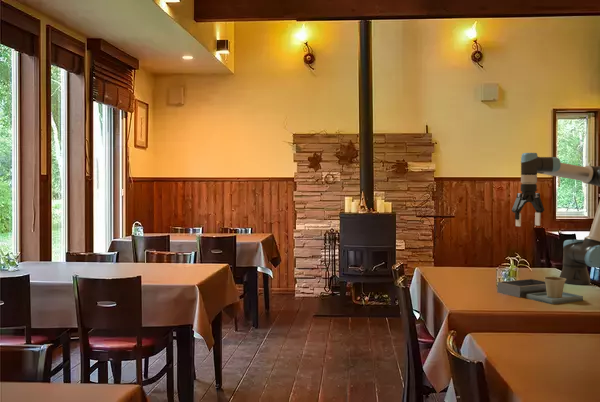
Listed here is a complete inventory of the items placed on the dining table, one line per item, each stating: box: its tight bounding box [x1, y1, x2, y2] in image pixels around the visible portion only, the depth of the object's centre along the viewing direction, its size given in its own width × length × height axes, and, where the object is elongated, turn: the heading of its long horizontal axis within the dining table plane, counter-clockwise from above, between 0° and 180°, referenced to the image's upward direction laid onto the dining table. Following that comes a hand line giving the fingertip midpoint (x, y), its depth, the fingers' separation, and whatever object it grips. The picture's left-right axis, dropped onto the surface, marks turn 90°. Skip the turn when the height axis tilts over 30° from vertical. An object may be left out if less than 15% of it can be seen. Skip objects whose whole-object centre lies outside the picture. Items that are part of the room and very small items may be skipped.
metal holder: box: [496, 278, 547, 298], centre depth 275 cm, size 23×14×5 cm, turn 116°
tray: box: [526, 291, 584, 305], centre depth 261 cm, size 20×14×2 cm
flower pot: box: [543, 276, 566, 298], centre depth 260 cm, size 9×9×9 cm
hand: (527, 225), depth 286 cm, fingers open, 13 cm apart
